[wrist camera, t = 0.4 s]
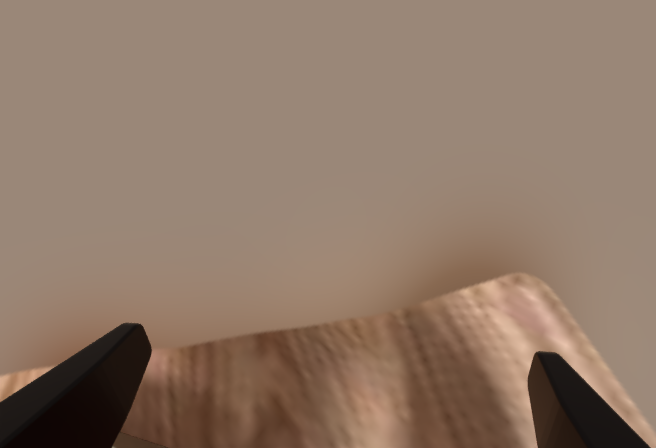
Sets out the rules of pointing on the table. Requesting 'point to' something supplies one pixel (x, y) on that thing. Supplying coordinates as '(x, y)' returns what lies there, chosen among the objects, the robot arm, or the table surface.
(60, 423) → the robot arm
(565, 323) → the table surface
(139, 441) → the walnut base slab
